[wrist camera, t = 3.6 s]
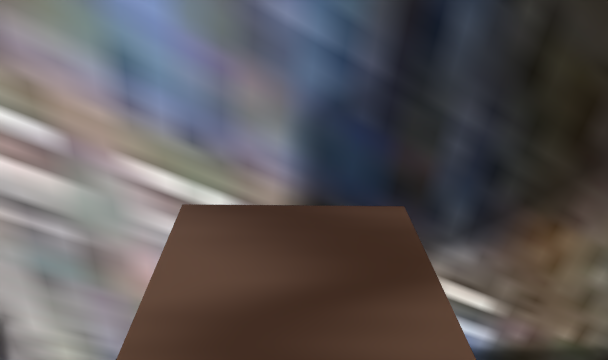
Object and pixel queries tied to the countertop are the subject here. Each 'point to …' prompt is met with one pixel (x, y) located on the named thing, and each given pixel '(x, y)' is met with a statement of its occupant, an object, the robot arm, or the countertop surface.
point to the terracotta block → (294, 288)
